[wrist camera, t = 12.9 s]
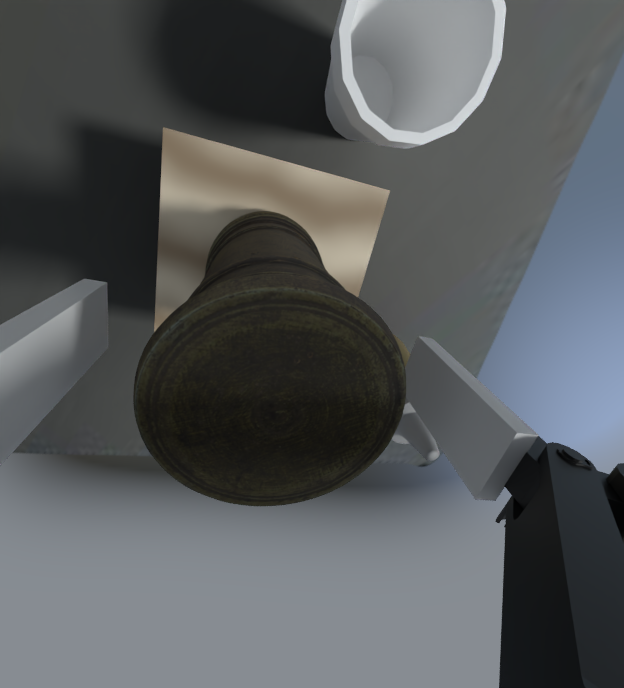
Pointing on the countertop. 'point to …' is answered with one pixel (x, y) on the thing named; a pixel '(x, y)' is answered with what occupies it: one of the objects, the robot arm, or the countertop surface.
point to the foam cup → (411, 67)
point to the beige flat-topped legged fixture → (251, 196)
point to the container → (268, 374)
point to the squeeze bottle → (414, 424)
